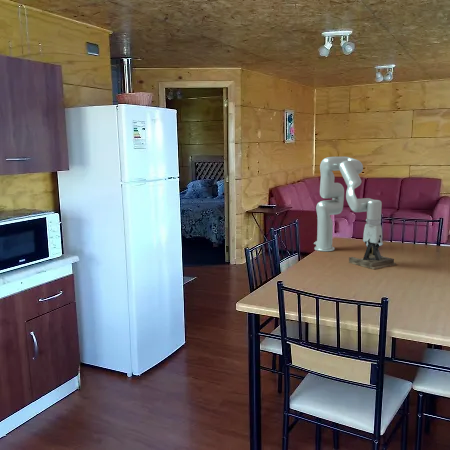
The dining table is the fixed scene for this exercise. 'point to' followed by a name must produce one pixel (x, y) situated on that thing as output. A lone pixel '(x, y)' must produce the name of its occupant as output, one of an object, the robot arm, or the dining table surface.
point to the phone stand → (377, 254)
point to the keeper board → (373, 262)
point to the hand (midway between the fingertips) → (372, 254)
